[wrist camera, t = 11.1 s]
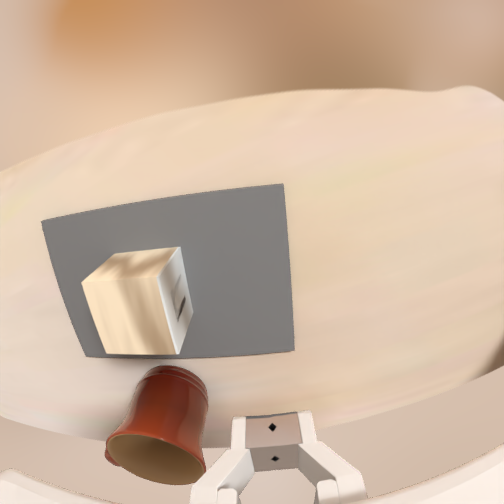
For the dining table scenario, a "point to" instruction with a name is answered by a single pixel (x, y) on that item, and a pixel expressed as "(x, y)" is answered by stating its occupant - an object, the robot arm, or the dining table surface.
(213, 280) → the mat
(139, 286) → the letter block
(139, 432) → the mug
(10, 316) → the dining table surface
